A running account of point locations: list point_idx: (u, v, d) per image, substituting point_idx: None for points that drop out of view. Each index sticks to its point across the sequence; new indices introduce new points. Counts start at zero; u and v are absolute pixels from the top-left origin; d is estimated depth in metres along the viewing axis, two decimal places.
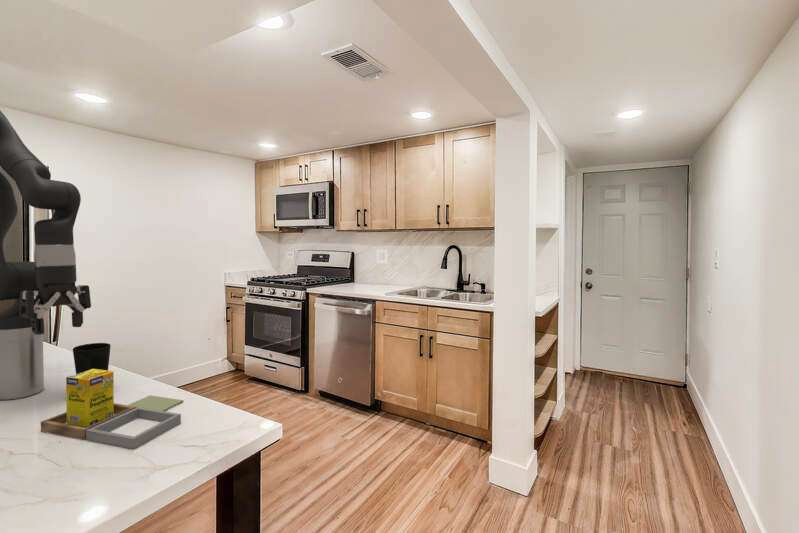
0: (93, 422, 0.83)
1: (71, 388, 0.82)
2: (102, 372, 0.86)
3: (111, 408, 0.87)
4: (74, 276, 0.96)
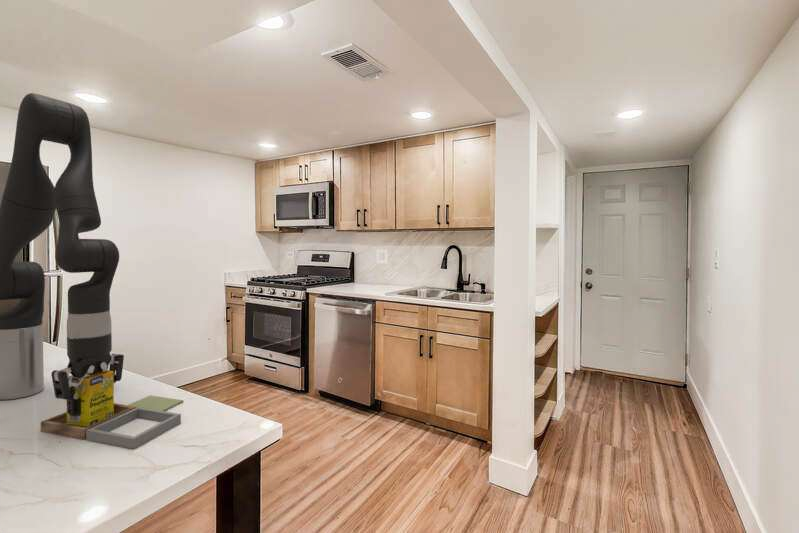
0: (93, 422, 0.83)
1: None
2: (102, 372, 0.86)
3: (111, 408, 0.87)
4: (110, 346, 0.85)
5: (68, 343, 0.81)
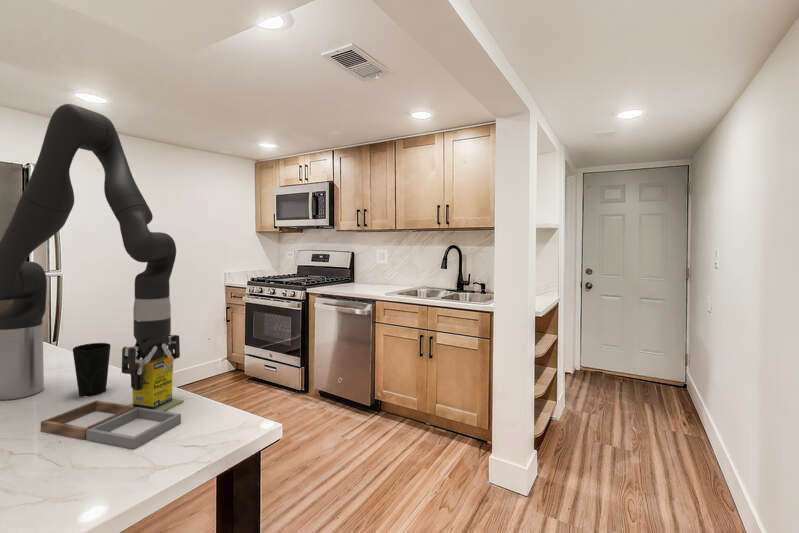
0: (156, 402, 0.93)
1: None
2: (163, 358, 0.95)
3: (170, 390, 0.96)
4: (170, 329, 0.95)
5: (135, 325, 0.91)
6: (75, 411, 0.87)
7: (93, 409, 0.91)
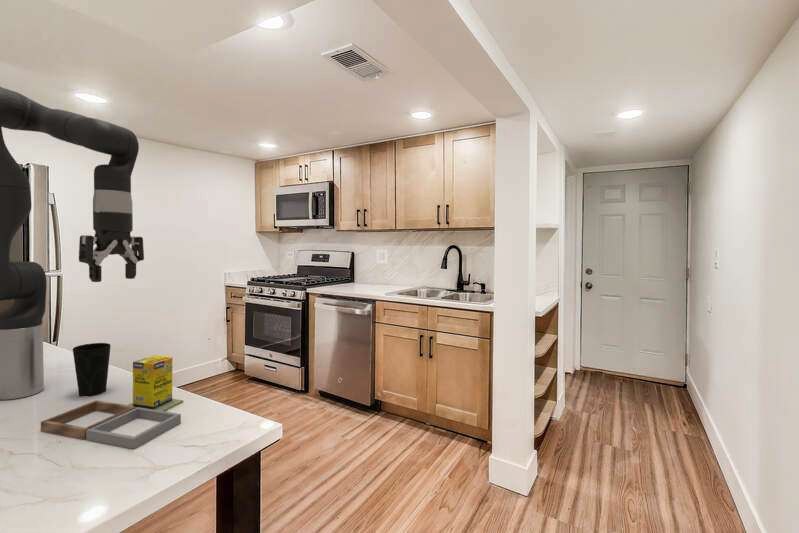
0: (156, 402, 0.93)
1: (137, 371, 0.92)
2: (163, 358, 0.95)
3: (170, 390, 0.96)
4: (131, 225, 0.93)
5: (94, 217, 0.89)
6: (75, 411, 0.87)
7: (93, 409, 0.91)
